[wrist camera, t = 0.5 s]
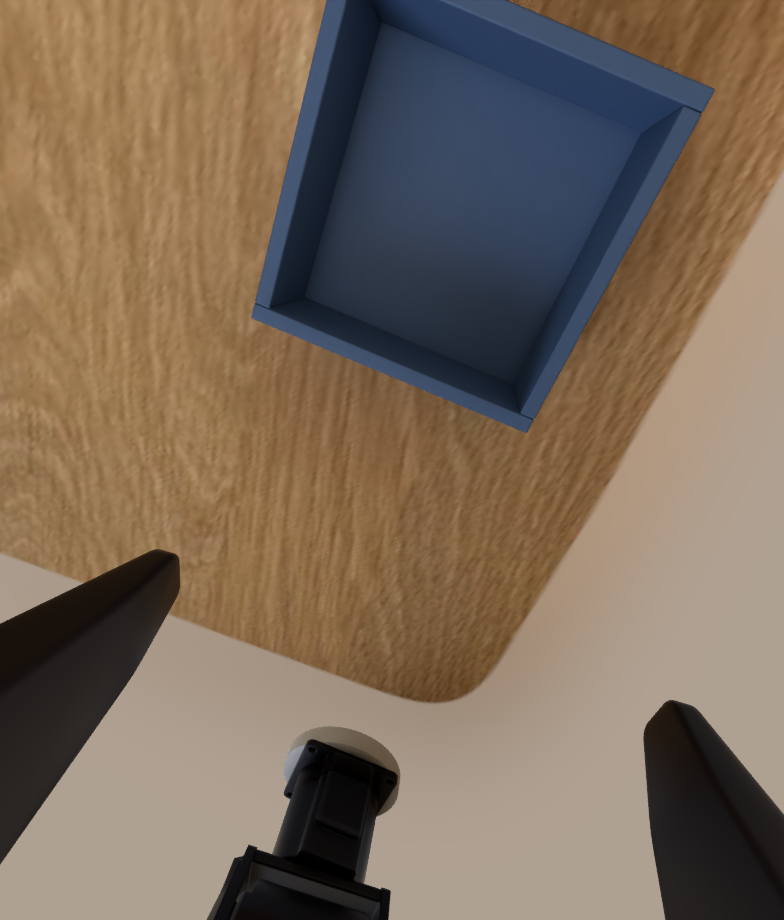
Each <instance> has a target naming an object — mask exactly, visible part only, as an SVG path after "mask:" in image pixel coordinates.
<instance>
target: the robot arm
mask: <svg viewBox="0 0 784 920" xmlns="http://www.w3.org/2000/svg"><path fill="white" fill-rule="evenodd" d="M179 589H180V564H179V557H178V556H177V555H176V554H174V553H171V552H167V551H164V550H160V549H156V550H152V551H150V552H148V553H146V554H143V555H141V556H139V557H137V558H135V559H133V560H131V561H129V562H127V563H125V564H123V565H121V566H119V567H117V568H115V569H112V570H110V571H108V572H106V573H104V574H102V575H100V576H98V577H96V578H94V579H92V580H90V581H88V582H86V583H84V584H82V585H79V586H77V587H75V588H73V589H71V590H69V591H67V592H65V593H63V594H61V595H59V596H57V597H55V598H53V599H50V600H48V601H46V602H44V603H42V604H40V605H38V606H36V607H34V608H32V609H30V610H28V611H26V612H24V613H22V614H19V615H17V616H15V617H13V618H11V619H9V620H7V621H5V622H3V623H1V624H0V864H1V862H2V861H3V860H4V858H5V857H6V856H7V854H8V853H9V851H10V850H11V848H12V847H13V846H14V844H15V843H16V841H17V840H18V838H19V837H20V836H21V834H22V832H23V831H24V830H25V828H26V827H27V826H28V824H29V823H30V821H31V820H32V819H33V817H34V816H35V814H36V813H37V811H38V810H39V809H40V807H41V806H42V804H43V803H44V801H45V800H46V798H47V797H48V796H49V794H50V793H51V791H52V790H53V789H54V787H55V786H56V784H57V783H58V782H59V780H60V779H61V777H62V776H63V774H64V773H65V772H66V770H67V768H68V767H69V766H70V764H71V763H72V762H73V760H74V759H75V757H76V756H77V754H78V753H79V752H80V750H81V749H82V747H83V746H84V744H85V743H86V742H87V740H88V739H89V737H90V736H91V735H92V733H93V732H94V730H95V729H96V727H97V726H98V724H99V723H100V722H101V720H102V719H103V717H104V716H105V715H106V713H107V712H108V710H109V709H110V708H111V706H112V705H113V703H114V702H115V700H116V699H117V698H118V696H119V695H120V693H121V692H122V690H123V689H124V687H125V686H126V685H127V683H128V681H129V680H130V679H131V677H132V676H133V674H134V672H135V671H136V669H137V667H138V665H139V664H140V662H141V661H142V659H143V657H144V655H145V653H146V652H147V650H148V648H149V646H150V644H151V643H152V641H153V639H154V637H155V635H156V634H157V632H158V630H159V628H160V627H161V625H162V623H163V621H164V619H165V618H166V616H167V614H168V612H169V610H170V609H171V607H172V605H173V603H174V602H175V600H176V598H177V595H178V593H179ZM644 752H645V766H646V779H647V793H648V807H649V819H650V829H651V837H652V844H653V850H654V856H655V862H656V868H657V873H658V879H659V885H660V890H661V897H662V902H663V908H664V914H665V920H784V814H783V813H782V812H781V811H780V809H779V808H778V807H777V806H776V804H775V803H774V802H773V801H772V800H771V798H770V797H769V796H768V795H767V794H766V792H765V791H764V790H763V789H762V787H761V786H760V785H759V784H758V783H757V781H756V780H755V779H754V778H753V777H752V775H751V774H750V773H749V772H748V770H747V769H746V768H745V767H744V765H743V764H742V763H741V762H740V761H739V760H738V758H737V757H736V756H735V754H734V753H733V752H732V751H731V750H730V748H729V747H728V746H727V745H726V744H725V742H724V741H723V740H722V739H721V737H720V736H719V735H718V734H717V733H716V731H715V730H714V729H713V728H712V727H711V725H710V724H709V723H708V722H707V720H706V719H705V718H704V717H703V716H702V714H701V713H700V712H699V711H698V710H697V709H696V708H695V707H693V706H691V705H688V704H684V703H681V702H678V701H674V700H669V701H667V702H665V703H664V704H663V706H662V707H661V708H660V709H659V710H658V711H657V713H656V714H655V715H654V716H653V717H652V718H651V720H650V721H649V722H648V723H647V725H646V728H645V730H644ZM397 781H398V775H397V774H396V773H395V772H393V771H391V770H388V769H386V768H383V767H381V766H379V765H376V764H374V763H371V762H369V761H366V760H364V759H361V758H359V757H357V756H354V755H352V754H349V753H347V752H344V751H342V750H339V749H337V748H335V747H332V746H330V745H327V744H325V743H322V742H320V741H318V740H315V739H310V740H308V741H307V743H306V745H305V747H304V749H303V751H302V753H301V755H300V757H299V760H298V762H297V764H296V766H295V768H294V770H293V772H292V774H291V777H290V779H289V781H288V783H287V785H286V787H285V790H284V796H286V798H288V799H291V800H290V803H289V806H288V808H287V812H286V815H285V817H284V820H283V824H282V826H281V829H280V833H279V835H278V838H277V841H276V844H275V847H274V850H273V853H272V854H270V853H267V852H263V851H260V850H257V847H254V846H251V845H248V847H247V849H246V852H245V854H244V856H242V857H238V858H234V860H233V863H232V866H231V868H230V871H229V873H228V876H227V878H226V881H225V883H224V886H223V888H222V890H221V893H220V895H219V896H218V898H217V900H216V902H215V904H214V906H213V908H212V911H211V912H210V914H209V916H208V918H207V920H388V918H389V917H388V916H389V904H390V892H391V891H390V890H388V889H385V888H381V889H378V888H375V887H372V886H369V885H366V884H364V881H365V876H366V870H367V864H368V859H369V853H370V848H371V842H372V836H373V831H374V825H375V819H376V816H377V814H378V813H379V811H380V810H381V808H382V807H383V805H384V803H385V802H386V800H387V799H388V797H389V796H390V794H391V793H392V791H393V790H394V788H395V787H396V785H397Z"/></svg>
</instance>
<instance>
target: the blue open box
mask: <svg viewBox="0 0 784 920" xmlns="http://www.w3.org/2000/svg"><path fill="white" fill-rule="evenodd" d="M713 93H714V89H713V88H711V87H709V86H707V85H704V84H702V83H700V82H697V81H695V80H693V79H690V78H688V77H686V76H683V75H681V74H679V73H676V72H674V71H672V70H669V69H667V68H665V67H662V66H660V65H658V64H655V63H653V62H650V61H648V60H646V59H643V58H641V57H639V56H636V55H634V54H632V53H629V52H627V51H625V50H622V49H620V48H618V47H615V46H613V45H611V44H608V43H606V42H604V41H601V40H599V39H597V38H594V37H592V36H590V35H587V34H585V33H583V32H580V31H578V30H576V29H573V28H571V27H569V26H566V25H564V24H562V23H559V22H557V21H555V20H552V19H550V18H548V17H545V16H543V15H541V14H538V13H536V12H534V11H531V10H529V9H527V8H524V7H522V6H520V5H517V4H515V3H513V2H510V1H508V0H327V1H326V6H325V10H324V14H323V18H322V22H321V27H320V31H319V35H318V39H317V44H316V48H315V52H314V56H313V60H312V65H311V69H310V73H309V77H308V82H307V86H306V90H305V94H304V98H303V103H302V107H301V111H300V115H299V119H298V124H297V128H296V132H295V136H294V141H293V145H292V149H291V153H290V157H289V162H288V166H287V170H286V174H285V179H284V183H283V187H282V191H281V195H280V200H279V204H278V208H277V212H276V217H275V221H274V225H273V229H272V233H271V238H270V242H269V246H268V250H267V254H266V259H265V263H264V267H263V271H262V276H261V280H260V284H259V288H258V292H257V297H256V303H255V305H254V309H253V313H252V318H253V319H255V320H257V321H260V322H262V323H265V324H267V325H269V326H272V327H274V328H276V329H279V330H281V331H284V332H286V333H288V334H291V335H293V336H296V337H298V338H300V339H303V340H305V341H308V342H310V343H312V344H315V345H317V346H320V347H322V348H324V349H327V350H329V351H331V352H334V353H336V354H339V355H341V356H343V357H346V358H348V359H351V360H353V361H355V362H358V363H360V364H363V365H365V366H367V367H370V368H372V369H374V370H377V371H379V372H382V373H384V374H386V375H389V376H391V377H394V378H396V379H398V380H401V381H403V382H406V383H408V384H410V385H413V386H415V387H418V388H420V389H422V390H425V391H427V392H429V393H432V394H434V395H437V396H439V397H441V398H444V399H446V400H449V401H451V402H453V403H456V404H458V405H461V406H463V407H465V408H468V409H470V410H473V411H475V412H477V413H480V414H482V415H484V416H487V417H489V418H492V419H494V420H496V421H499V422H501V423H504V424H506V425H508V426H511V427H513V428H516V429H518V430H520V431H523V432H525V433H527V432H528V430H529V428H530V426H531V425H532V423H533V419H534V418H535V417H536V415H537V413H538V412H539V410H540V408H541V406H542V404H543V403H544V401H545V399H546V397H547V395H548V393H549V392H550V390H551V388H552V386H553V384H554V383H555V381H556V379H557V377H558V375H559V373H560V372H561V370H562V368H563V366H564V364H565V363H566V361H567V359H568V357H569V355H570V353H571V352H572V350H573V348H574V346H575V344H576V342H577V341H578V339H579V337H580V335H581V333H582V332H583V330H584V328H585V326H586V324H587V322H588V321H589V319H590V317H591V315H592V313H593V312H594V310H595V308H596V306H597V304H598V302H599V301H600V299H601V297H602V295H603V293H604V292H605V290H606V288H607V286H608V284H609V282H610V281H611V279H612V277H613V275H614V273H615V272H616V270H617V268H618V266H619V264H620V262H621V261H622V259H623V257H624V255H625V253H626V252H627V250H628V248H629V246H630V244H631V242H632V241H633V239H634V237H635V235H636V233H637V232H638V230H639V228H640V226H641V224H642V222H643V221H644V219H645V217H646V215H647V213H648V211H649V210H650V208H651V206H652V204H653V202H654V201H655V199H656V197H657V195H658V193H659V191H660V190H661V188H662V186H663V184H664V182H665V181H666V179H667V177H668V175H669V173H670V171H671V170H672V168H673V166H674V164H675V162H676V161H677V159H678V157H679V155H680V153H681V151H682V150H683V148H684V146H685V144H686V142H687V141H688V139H689V137H690V135H691V133H692V131H693V130H694V128H695V126H696V124H697V122H698V121H699V119H700V117H701V113H702V112H703V111H704V110H705V108H706V106H707V104H708V102H709V100H710V99H711V97H712V95H713Z"/></svg>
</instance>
